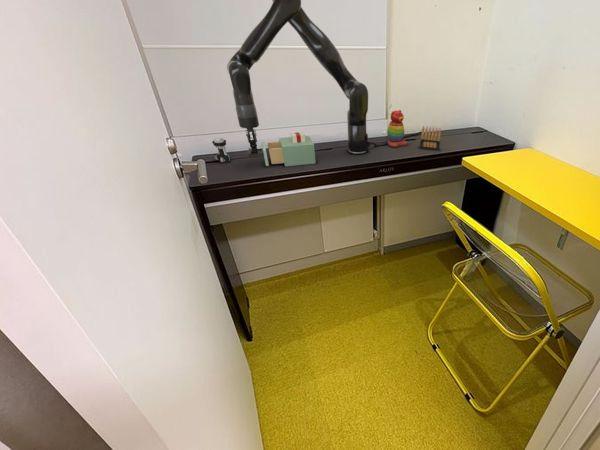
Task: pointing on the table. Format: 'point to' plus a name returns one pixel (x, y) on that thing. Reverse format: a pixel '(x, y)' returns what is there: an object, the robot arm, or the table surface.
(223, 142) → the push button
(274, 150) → the drawer
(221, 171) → the table surface
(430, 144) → the ammunition clip
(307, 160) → the cabinet
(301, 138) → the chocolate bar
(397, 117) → the stacking bear
